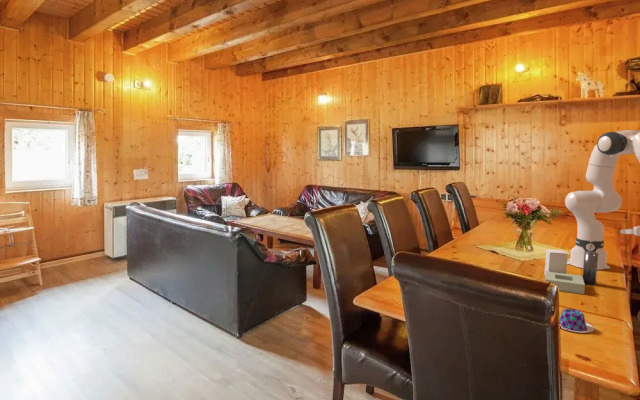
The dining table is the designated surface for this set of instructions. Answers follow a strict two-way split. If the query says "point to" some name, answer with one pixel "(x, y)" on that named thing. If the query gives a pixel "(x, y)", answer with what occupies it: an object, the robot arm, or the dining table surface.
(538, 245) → the dining table surface
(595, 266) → the peg
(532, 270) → the dining table surface
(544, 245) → the dining table surface
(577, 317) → the purple patterned hat
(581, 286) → the socket block
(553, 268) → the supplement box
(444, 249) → the dining table surface
